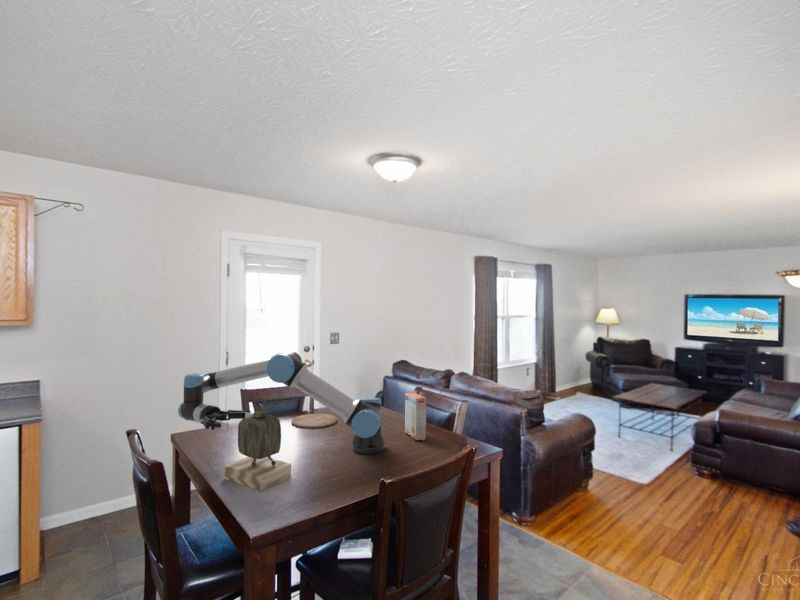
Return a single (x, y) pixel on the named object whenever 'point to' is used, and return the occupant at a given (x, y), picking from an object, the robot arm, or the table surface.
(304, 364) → the robot arm
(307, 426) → the trivet
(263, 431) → the tabletop clock
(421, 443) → the table surface
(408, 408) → the cracker box
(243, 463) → the maple base
